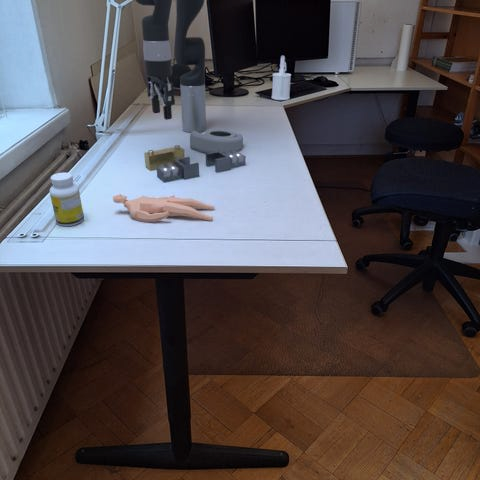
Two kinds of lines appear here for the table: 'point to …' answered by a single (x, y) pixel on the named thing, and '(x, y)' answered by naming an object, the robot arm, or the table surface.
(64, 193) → the pill bottle
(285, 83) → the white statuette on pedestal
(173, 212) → the male figurine
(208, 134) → the turbocharger housing
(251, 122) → the table surface
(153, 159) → the brass block with pins
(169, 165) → the chain ends
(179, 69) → the dark grey lump
